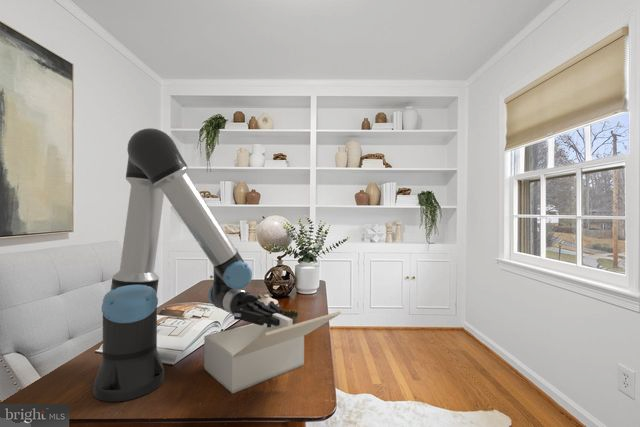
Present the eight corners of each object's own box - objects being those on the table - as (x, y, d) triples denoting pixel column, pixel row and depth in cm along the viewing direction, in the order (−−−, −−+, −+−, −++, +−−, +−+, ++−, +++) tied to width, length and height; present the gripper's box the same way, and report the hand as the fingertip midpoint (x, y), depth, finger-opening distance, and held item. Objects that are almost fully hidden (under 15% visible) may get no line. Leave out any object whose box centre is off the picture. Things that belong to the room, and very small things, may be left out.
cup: (284, 330, 120) (285, 308, 119) (301, 334, 116) (302, 311, 116) (271, 337, 113) (272, 313, 113) (289, 342, 109) (289, 317, 109)
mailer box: (232, 393, 79) (232, 356, 79) (204, 368, 91) (204, 336, 90) (303, 365, 94) (304, 333, 93) (271, 346, 105) (272, 318, 105)
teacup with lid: (267, 332, 117) (268, 299, 117) (248, 327, 122) (248, 295, 122) (287, 322, 128) (288, 292, 127) (269, 318, 132) (269, 289, 132)
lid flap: (233, 355, 78) (234, 358, 78) (265, 332, 68) (266, 335, 68) (305, 332, 93) (305, 334, 93) (340, 311, 83) (341, 313, 83)
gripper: (259, 311, 103) (310, 334, 86) (220, 321, 94) (267, 348, 77) (260, 287, 103) (310, 305, 86) (220, 295, 94) (268, 316, 77)
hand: (290, 325), depth 81 cm, fingers closed
